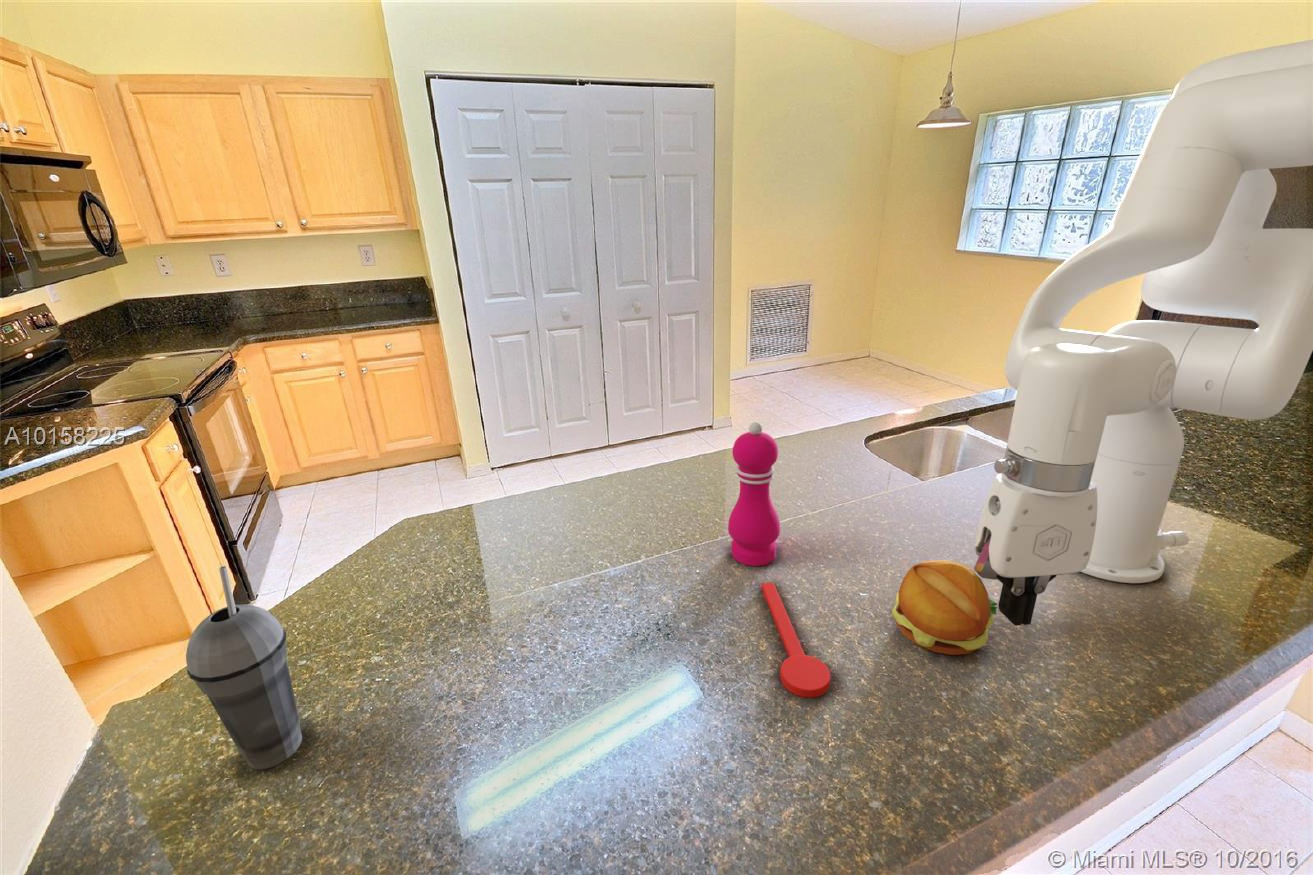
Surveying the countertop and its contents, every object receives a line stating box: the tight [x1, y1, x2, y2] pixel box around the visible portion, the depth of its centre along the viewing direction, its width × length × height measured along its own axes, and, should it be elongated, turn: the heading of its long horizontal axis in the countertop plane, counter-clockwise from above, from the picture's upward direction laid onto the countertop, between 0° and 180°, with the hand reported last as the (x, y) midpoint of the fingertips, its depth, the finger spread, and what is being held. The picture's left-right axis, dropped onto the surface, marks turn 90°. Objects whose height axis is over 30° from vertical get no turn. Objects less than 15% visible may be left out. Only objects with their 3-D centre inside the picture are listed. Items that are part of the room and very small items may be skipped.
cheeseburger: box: [891, 559, 998, 656], centre depth 64 cm, size 10×11×10 cm
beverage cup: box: [185, 565, 303, 770], centre depth 51 cm, size 7×7×20 cm
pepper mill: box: [727, 421, 781, 567], centre depth 79 cm, size 7×7×20 cm
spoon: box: [760, 582, 831, 699], centre depth 66 cm, size 5×18×1 cm, turn 4°
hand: (1013, 617), depth 65 cm, fingers closed
